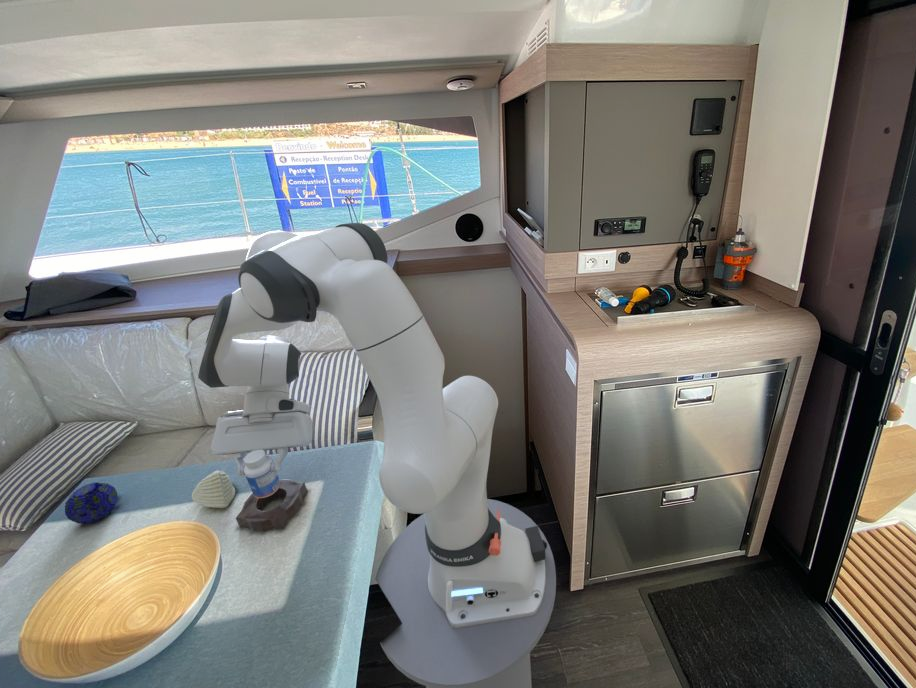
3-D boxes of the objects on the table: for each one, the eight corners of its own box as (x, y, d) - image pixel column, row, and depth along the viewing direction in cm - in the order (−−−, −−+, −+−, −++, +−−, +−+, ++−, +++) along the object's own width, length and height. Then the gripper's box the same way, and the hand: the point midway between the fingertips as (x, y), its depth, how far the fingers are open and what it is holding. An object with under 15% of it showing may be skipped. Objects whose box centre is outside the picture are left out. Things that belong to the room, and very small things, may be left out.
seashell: (225, 469, 103) (239, 464, 99) (230, 504, 101) (244, 501, 97) (186, 479, 96) (198, 475, 92) (190, 517, 94) (203, 515, 90)
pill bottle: (250, 489, 92) (236, 455, 88) (277, 475, 95) (264, 442, 91) (257, 503, 88) (242, 469, 84) (284, 489, 91) (271, 455, 87)
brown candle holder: (312, 489, 99) (308, 479, 98) (284, 532, 88) (280, 522, 87) (267, 487, 100) (263, 478, 99) (234, 530, 89) (230, 520, 88)
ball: (87, 506, 97) (71, 482, 94) (127, 494, 100) (113, 471, 97) (69, 534, 90) (52, 509, 87) (113, 521, 93) (98, 496, 90)
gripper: (209, 410, 90) (198, 479, 85) (306, 401, 92) (301, 467, 87) (227, 414, 96) (217, 478, 91) (317, 405, 98) (313, 467, 93)
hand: (259, 473), depth 89 cm, fingers closed on pill bottle, 5 cm apart
